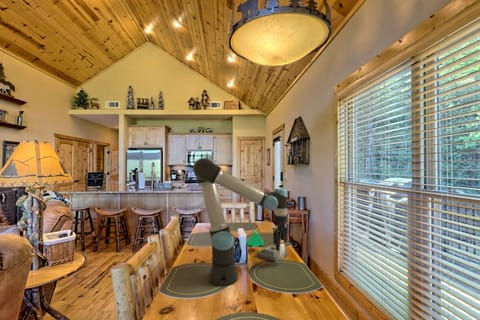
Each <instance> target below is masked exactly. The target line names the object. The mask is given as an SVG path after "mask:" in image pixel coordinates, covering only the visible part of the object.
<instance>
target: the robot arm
mask: <svg viewBox="0 0 480 320" xmlns="http://www.w3.org/2000/svg"><path fill="white" fill-rule="evenodd" d="M192 168H193V169H192V170H193V171H192V172H193V173H194V176H195V179H196V184H197V185H199V186H200V187H201V192H202V196H203V199H204V205H205V208H206V212H207V215H208V220H209V224H210V227H209V229H208V231H209V235H210V240H211V262H212V263H211V268H210V272H209V275H208V282H209V281H210V282H209V283H210V284H212V285H213V286H217V287H218V286H220V287H227V286H231V285H233V284H235V283H237V282H238V280H239V275H238V272H237V269H236V268H237V267H236V264H235V241H236V240H235V235H234V234H233V233H232V232H231V228H230V226H229V225H230V224H229V223H227V222H226V219H225V215H224V210H223V208H222V207H223V205H222V203H221V200H220V199H221V198H220V196H219V192H218V187H217V185H218V186H221V187H223V188H224V189H227V190H228V191H230V192H232V193H234V194H236V195H238V196H241V197H243V198H245V199H246V200H248V201H250V202H253V203H254V205H256V206H260V207H262V208H264V209H265V210H266V211H274V213H273V214H274V216H273V217H274V220H273V221H274V222H275V227H272V231H273V233H272V234H273V235H272V236H273V244H274V245H275V247H276V255H277V256H281V245H280V240H284V254H285V251H286V243H287V242H288V231H289V230H288V227H289V224H287V222H288V190H287V188H275V189H274V191H271V192H270V191H269V192H265V191H263V190H262V189H259V188H258V187H256V186H254V185H252V184H250V183H248V182H246V181H244V180H242V179H240V178H238V177H236V176H234V175H232V174H231V173H228V172H227V171H225V170H223V168H222V167H221V166H218V165H217V164H216V163H214V162H213V160H212V159H210V158H207V157H202V158H199V159H197V160H196V161H195V162H194V164H193V167H192Z"/></svg>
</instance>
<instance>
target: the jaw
mask: <svg viewBox="0 0 480 320" xmlns="http://www.w3.org/2000/svg"><path fill="white" fill-rule="evenodd" d="M280 245H281V256H277V258H280V260H283V259H284V258H285V257H284V240H281V239H280Z"/></svg>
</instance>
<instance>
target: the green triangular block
mask: <svg viewBox="0 0 480 320" xmlns="http://www.w3.org/2000/svg"><path fill="white" fill-rule="evenodd" d="M247 244H248V245H247ZM246 245H247V246H252V247H256V248H257V247H260V246H265V242H264V239H262V237H261V236H260V235H259V232H257V231H256V230H254V231H253V232H252V233H251V235H250V237H249V238H248V239H247V240H246Z"/></svg>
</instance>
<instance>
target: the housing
mask: <svg viewBox="0 0 480 320" xmlns="http://www.w3.org/2000/svg"><path fill="white" fill-rule="evenodd" d="M256 257H257V258H260V259H264V260H267V261H270V262H273V263H277V262H279V261H280V260H281V259H280V258H277V255H276V246H274V245H269V246H267V247H265V248H263V249H261V250H258V251H257V252H256ZM286 257H288V250H285V254H284V258H286Z"/></svg>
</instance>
